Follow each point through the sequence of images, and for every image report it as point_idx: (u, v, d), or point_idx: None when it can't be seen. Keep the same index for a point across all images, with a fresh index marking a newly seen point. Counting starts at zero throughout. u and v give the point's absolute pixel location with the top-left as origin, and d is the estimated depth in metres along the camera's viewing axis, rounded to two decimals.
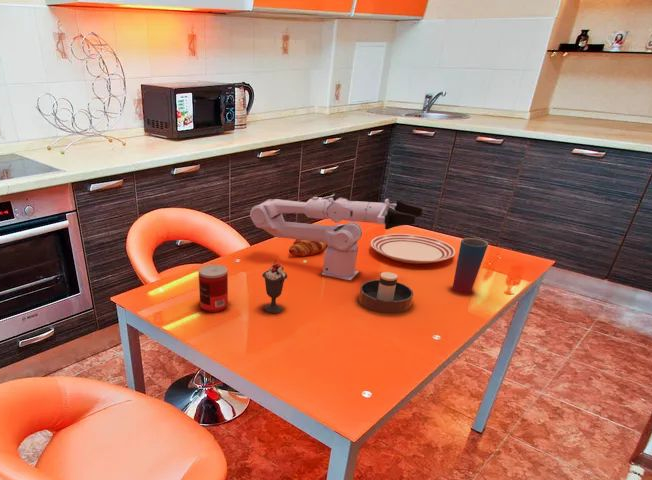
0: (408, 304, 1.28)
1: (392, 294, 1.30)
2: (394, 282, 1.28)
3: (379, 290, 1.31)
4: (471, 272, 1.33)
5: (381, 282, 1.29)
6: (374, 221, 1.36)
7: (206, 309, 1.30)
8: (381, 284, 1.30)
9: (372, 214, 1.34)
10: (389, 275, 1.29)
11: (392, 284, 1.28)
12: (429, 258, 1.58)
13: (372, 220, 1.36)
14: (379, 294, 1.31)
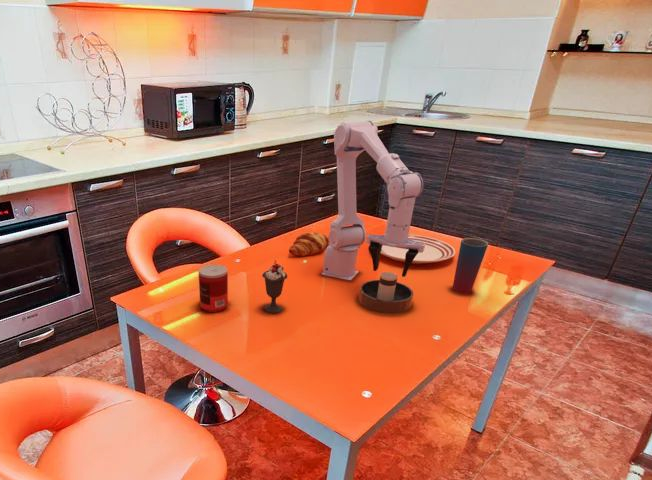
0: (408, 304, 1.28)
1: (392, 294, 1.30)
2: (394, 282, 1.28)
3: (379, 290, 1.31)
4: (471, 272, 1.33)
5: (381, 282, 1.29)
6: None
7: (206, 309, 1.30)
8: (381, 284, 1.30)
9: None
10: (389, 275, 1.29)
11: (392, 284, 1.28)
12: (429, 258, 1.58)
13: None
14: (379, 294, 1.31)
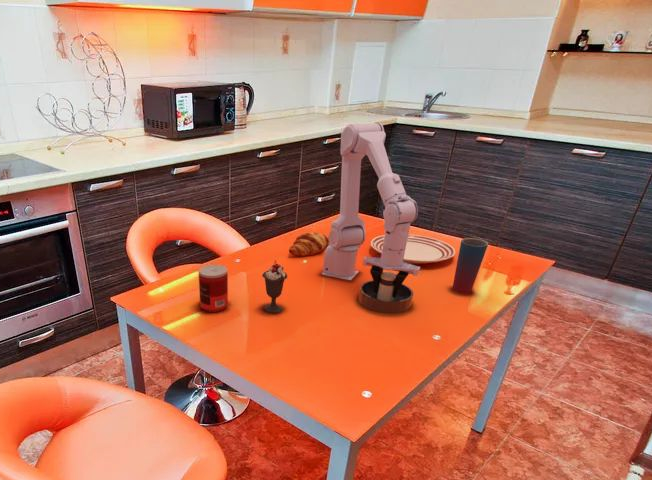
0: (408, 304, 1.28)
1: (392, 294, 1.30)
2: (394, 282, 1.28)
3: (379, 290, 1.31)
4: (471, 272, 1.33)
5: (381, 282, 1.29)
6: None
7: (206, 309, 1.30)
8: (381, 284, 1.30)
9: None
10: (389, 275, 1.29)
11: (392, 284, 1.28)
12: (429, 258, 1.58)
13: None
14: (379, 294, 1.31)
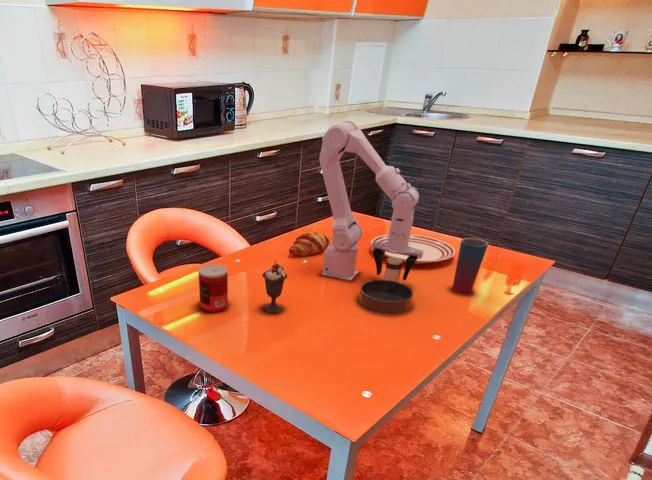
0: (408, 304, 1.28)
1: (398, 277, 1.41)
2: (400, 266, 1.39)
3: (386, 274, 1.42)
4: (471, 272, 1.33)
5: (387, 266, 1.40)
6: None
7: (206, 309, 1.30)
8: (387, 268, 1.40)
9: (388, 236, 1.37)
10: (395, 260, 1.39)
11: (398, 268, 1.39)
12: (429, 258, 1.58)
13: None
14: (385, 277, 1.42)
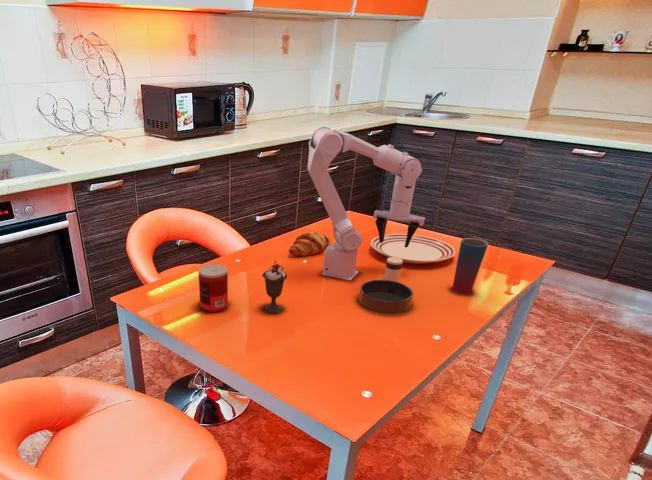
0: (408, 304, 1.28)
1: (398, 277, 1.41)
2: (400, 266, 1.39)
3: (386, 274, 1.42)
4: (471, 272, 1.33)
5: (387, 266, 1.40)
6: (405, 210, 1.39)
7: (206, 309, 1.30)
8: (387, 268, 1.40)
9: (410, 206, 1.40)
10: (395, 260, 1.39)
11: (398, 268, 1.39)
12: (429, 258, 1.58)
13: (407, 208, 1.38)
14: (385, 277, 1.42)
